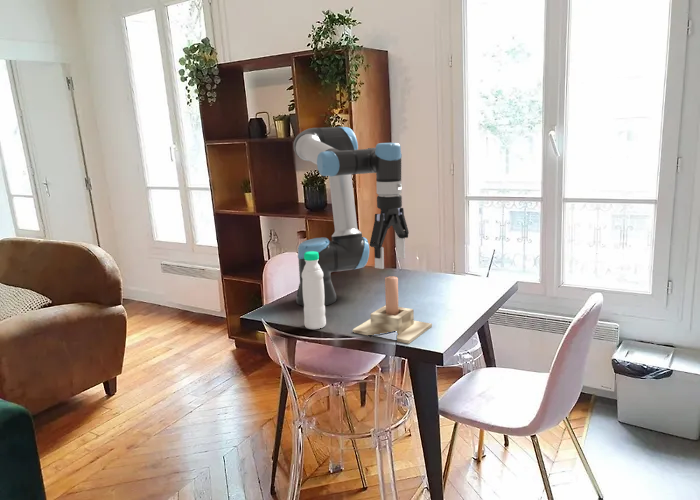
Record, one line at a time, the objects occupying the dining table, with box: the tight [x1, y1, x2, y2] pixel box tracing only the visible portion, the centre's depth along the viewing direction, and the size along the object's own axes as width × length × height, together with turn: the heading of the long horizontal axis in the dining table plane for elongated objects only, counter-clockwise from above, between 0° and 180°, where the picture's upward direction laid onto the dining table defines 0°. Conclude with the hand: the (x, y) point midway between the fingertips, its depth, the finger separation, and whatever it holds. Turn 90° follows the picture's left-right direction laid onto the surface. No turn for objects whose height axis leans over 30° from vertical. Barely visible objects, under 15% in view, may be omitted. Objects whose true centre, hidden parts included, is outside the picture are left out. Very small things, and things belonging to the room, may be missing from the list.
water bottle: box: [302, 251, 327, 330], centre depth 177 cm, size 7×7×25 cm
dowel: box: [384, 275, 399, 316], centre depth 172 cm, size 4×4×16 cm
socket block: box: [352, 304, 433, 344], centre depth 174 cm, size 20×16×6 cm
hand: (390, 263), depth 170 cm, fingers open, 13 cm apart
